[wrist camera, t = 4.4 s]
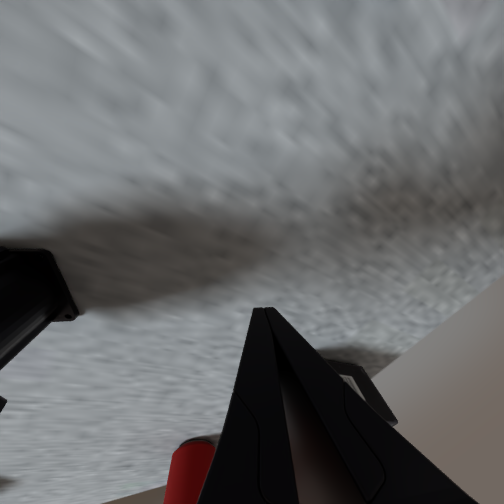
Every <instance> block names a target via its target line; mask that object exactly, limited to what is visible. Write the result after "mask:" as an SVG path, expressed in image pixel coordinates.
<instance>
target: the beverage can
mask: <svg viewBox="0 0 504 504" xmlns="http://www.w3.org/2000/svg"><path fill="white" fill-rule="evenodd" d="M215 451H216V448H215V447H214V446H213V445H211V444H210V442H208V441H205V440H193V441H188V442H186V443H184V444H182V445H181V446H180V447H179V448H178V449H177V450H176V451H175V452H174V453H173V455H172V460H171V465H170V470H169V476H168V481H167V487H166V492H165V498H164V503H163V504H197V501H198V498H199V495H200V493H201V490H202V487H203V484H204V482H205V479H206V476H207V473H208V471H209V468H210V465H211V462H212V460H213V457H214V454H215Z"/></svg>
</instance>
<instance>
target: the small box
mask: <svg viewBox="0 0 504 504" xmlns="http://www.w3.org/2000/svg"><path fill="white" fill-rule="evenodd" d="M325 361H326V362H327V363H328V364H329V365H330V366H331V367H332V368H333V369H334V370H335V371H336V372H337V373H338V374H339V375H340V376H341V377H342V378H343V380H344V381H346V382H347V383H348V384H349V385H350V386H351V387H352V388H353V389H354V390H355V391H356V392H357V393H358V394H359V395H360V396H361V397H362V398H363V399H364V400H365V401H366V402H367V403H368V404H369V405H370V406H371V407H372V408H373V409H374V410H375V411H376V412H377V413H378V414H379V415H380V416H381V417H382V418H383V419H384V420H386V421H387V422H388V423H389V424H390V425H391V426H392V427H393V426H394V425H396V424H397V423H398V420H397V419H396V417H395V416H394V414H393V413H392V411H391V410H390V408H389V407H388V405H387V404H386V402H385V401H384V399H383V397H382V396H381V394H380V393H379V391H378V390H377V388H376V387H375V385H374V384H373V382H372V381H371V379H370V378H369V376H368V375H367V373H366V372H365V370H364V369H363V367H362V366H357V365H350V364H344V363H339V362H333V361H327V360H325Z"/></svg>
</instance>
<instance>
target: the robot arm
mask: <svg viewBox="0 0 504 504" xmlns="http://www.w3.org/2000/svg"><path fill="white" fill-rule="evenodd" d="M40 255H41V256H42V257H41V256H40ZM78 315H79V313H78V310H77V308H76V306H75V304H74V302H73V299H72V297H71V295H70V293H69V291H68V289H67V286H66V284H65V282H64V280H63V278H62V275H61V273H60V271H59V269H58V267H57V264H56V262H55V260H54V258H53V256H52V254H51V253H50V252H49V251H47V250H45V249H8V248H6V247H2V246H0V370H1V369H2V368H3V367H4V366H5V365H6V364H8V363H9V362H10V361H11V360H12V359H13V358H14V357H15V356H16V355H17V354H18V353H19V352H20V351H21V350H22V349H23V348H24V347H26V346H27V345H28V344H29V343H30V342H31V341H32V340H33V339H34V338H35V337H36V336H37V335H38V334H39V333H40V332H41V331H42V330H44V329H45V328H46V327H47V326H48V325H49V324H50V323H51V322H60V321H73V320H75V319H76V318H77V317H78ZM6 403H7V400H6V399H5V398H3V397H2V396H0V413H1V411H2V409H3V408H4V406H5V404H6ZM197 504H479V503H478V502H476V501H475V500H474V499H473V498H472V497H470V496H469V495H468V494H467V493H466V492H464V491H463V490H462V489H461V488H460V487H459V486H457V485H456V484H455V483H454V482H453V481H452V480H451V479H449V477H447V476H446V475H445V474H444V473H443V472H442V471H441V470H440V469H439V468H437V467H436V466H435V465H434V464H433V463H432V462H431V461H430V460H429V459H427V458H426V457H425V456H424V455H423V454H422V453H421V452H420V451H419V450H417V449H416V448H415V447H414V446H413V445H412V444H411V443H409V441H407V440H406V439H405V438H404V437H403V436H402V435H401V434H400V433H399V432H397V431H396V430H395V429H394V428H393V427H392V426H391V425H390V424H389V423H388V422H387V421H386V420H384V419H383V418H382V417H381V416H380V415H379V414H378V413H377V412H376V411H375V410H374V409H373V408H372V407H371V406H370V405H369V404H368V403H367V402H366V401H365V400H364V399H363V398H362V397H361V396H360V395H359V394H358V393H357V392H356V391H355V390H354V389H353V388H352V387H351V386H350V385H349V384H348V383H347V382H346V381H344V380H343V378H342V377H341V376H340V375H339V374H338V373H337V372H336V371H335V370H334V369H333V368H332V367H331V366H330V365H329V364H328V363H327V362H326V361H325V360H324V358H323V357H322V356H321V355H320V354H319V353H318V352H317V351H316V350H315V349H314V348H313V347H312V346H311V345H310V344H309V343H308V342H307V341H306V340H305V339H304V338H303V337H302V336H301V335H300V334H299V333H298V332H297V331H296V330H295V329H294V328H293V326H292V325H291V324H290V323H289V322H288V321H287V320H286V319H285V318H284V317H283V316H282V315H281V314H280V313H279V312H278V311H277V310H276V309H275V308H274V307H265V308H262V307H260V308H254V309H253V312H252V316H251V320H250V324H249V328H248V332H247V336H246V340H245V344H244V348H243V352H242V356H241V360H240V364H239V368H238V373H237V377H236V381H235V385H234V389H233V393H232V396H231V400H230V404H229V408H228V412H227V415H226V419H225V423H224V426H223V430H222V433H221V436H220V439H219V442H218V445H217V448H216V451H215V454H214V457H213V460H212V462H211V465H210V468H209V471H208V473H207V476H206V479H205V482H204V484H203V487H202V490H201V493H200V495H199V498H198V501H197Z"/></svg>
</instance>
